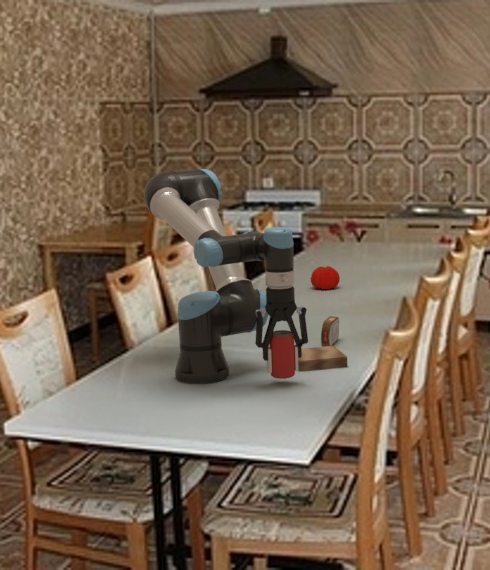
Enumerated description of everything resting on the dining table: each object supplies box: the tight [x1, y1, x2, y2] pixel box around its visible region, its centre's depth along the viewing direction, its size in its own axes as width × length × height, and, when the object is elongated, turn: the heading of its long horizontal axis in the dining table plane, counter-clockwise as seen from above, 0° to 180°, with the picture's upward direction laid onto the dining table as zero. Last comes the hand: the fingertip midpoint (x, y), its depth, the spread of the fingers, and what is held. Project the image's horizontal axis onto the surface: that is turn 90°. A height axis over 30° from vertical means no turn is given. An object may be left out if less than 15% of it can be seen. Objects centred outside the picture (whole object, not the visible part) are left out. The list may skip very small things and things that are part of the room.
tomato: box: [310, 266, 341, 290], centre depth 393 cm, size 11×12×9 cm
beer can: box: [269, 329, 296, 380], centre depth 256 cm, size 7×7×12 cm
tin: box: [320, 315, 340, 347], centre depth 298 cm, size 15×3×8 cm, turn 162°
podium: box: [298, 345, 348, 372], centre depth 276 cm, size 14×14×3 cm
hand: (282, 370), depth 256 cm, fingers closed on beer can, 7 cm apart
